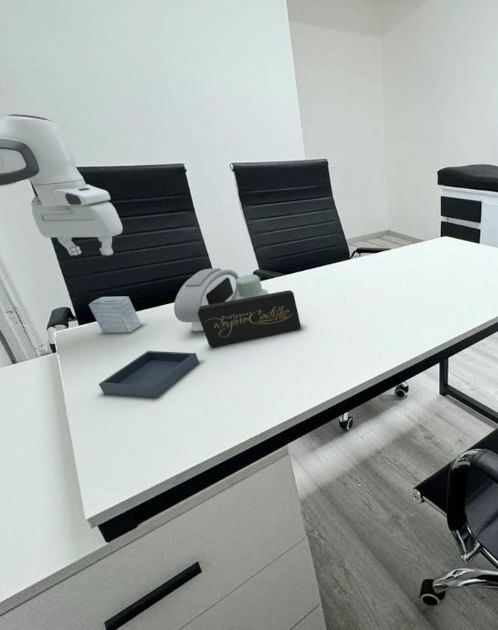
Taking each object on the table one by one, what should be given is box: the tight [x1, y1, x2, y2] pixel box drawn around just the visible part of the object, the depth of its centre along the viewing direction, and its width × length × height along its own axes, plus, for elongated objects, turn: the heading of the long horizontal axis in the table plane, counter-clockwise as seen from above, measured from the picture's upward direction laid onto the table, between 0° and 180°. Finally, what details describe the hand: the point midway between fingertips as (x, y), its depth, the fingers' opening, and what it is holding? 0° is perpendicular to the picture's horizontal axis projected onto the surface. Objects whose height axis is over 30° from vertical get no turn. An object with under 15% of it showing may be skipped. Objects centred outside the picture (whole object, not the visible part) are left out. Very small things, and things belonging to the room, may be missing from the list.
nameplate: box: [198, 289, 302, 348], centre depth 92 cm, size 21×2×10 cm, turn 110°
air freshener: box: [235, 274, 270, 300], centre depth 104 cm, size 11×8×10 cm
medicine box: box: [88, 296, 142, 334], centre depth 100 cm, size 8×4×9 cm, turn 84°
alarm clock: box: [173, 267, 240, 332], centre depth 103 cm, size 23×6×13 cm, turn 0°
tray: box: [98, 350, 200, 399], centre depth 80 cm, size 12×12×2 cm
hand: (92, 254), depth 93 cm, fingers open, 8 cm apart
